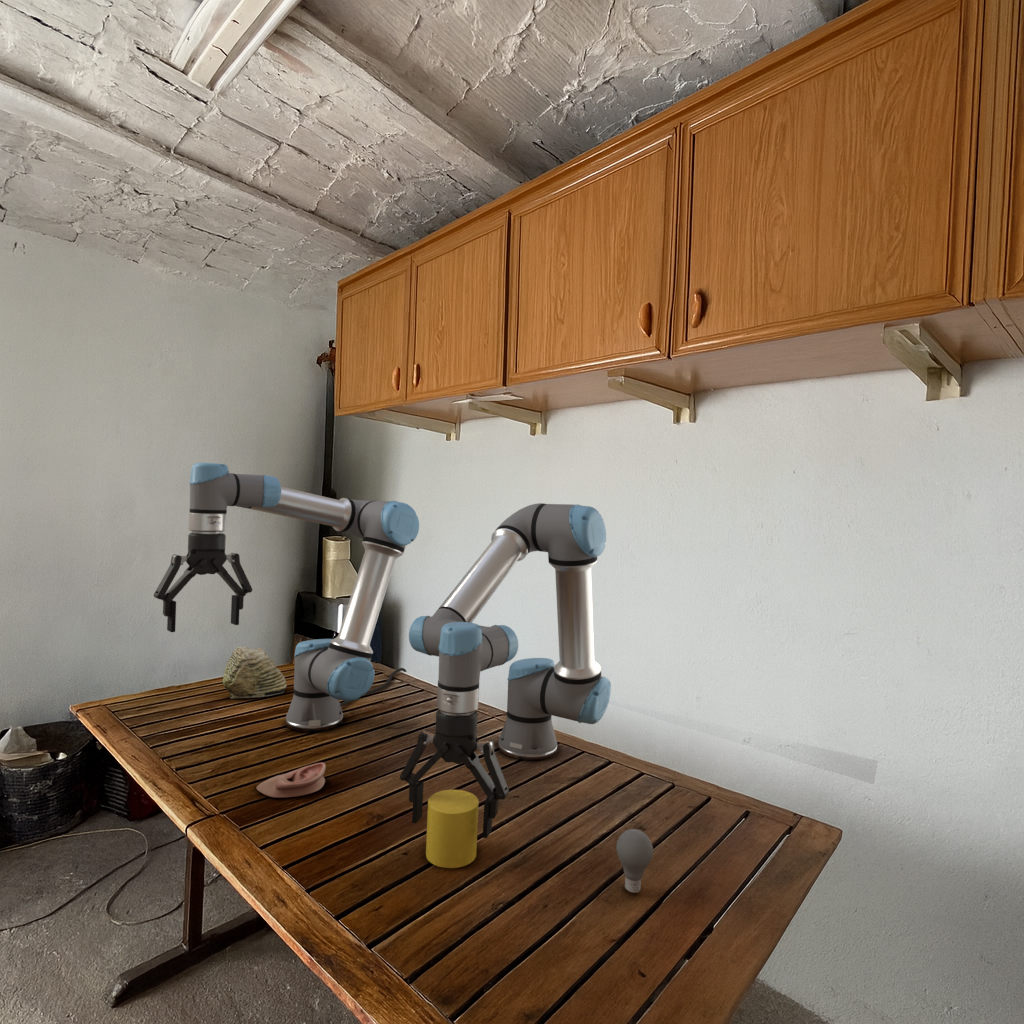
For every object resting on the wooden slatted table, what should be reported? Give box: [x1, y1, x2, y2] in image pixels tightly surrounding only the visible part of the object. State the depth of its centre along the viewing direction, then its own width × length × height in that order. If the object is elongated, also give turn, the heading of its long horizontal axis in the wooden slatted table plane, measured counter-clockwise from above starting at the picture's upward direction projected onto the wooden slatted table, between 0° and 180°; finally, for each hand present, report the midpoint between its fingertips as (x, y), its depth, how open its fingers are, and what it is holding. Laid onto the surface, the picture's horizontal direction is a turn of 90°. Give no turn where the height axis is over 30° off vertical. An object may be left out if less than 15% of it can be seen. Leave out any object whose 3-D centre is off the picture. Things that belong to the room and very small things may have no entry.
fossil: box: [222, 646, 288, 699], centre depth 198 cm, size 9×18×15 cm, turn 132°
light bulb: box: [615, 828, 654, 894], centre depth 106 cm, size 6×6×10 cm
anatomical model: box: [256, 762, 327, 799], centre depth 137 cm, size 13×4×12 cm
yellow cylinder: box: [425, 789, 480, 869], centre depth 114 cm, size 9×9×10 cm
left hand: (204, 627), depth 141 cm, fingers open, 13 cm apart
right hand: (451, 827), depth 114 cm, fingers open, 13 cm apart
